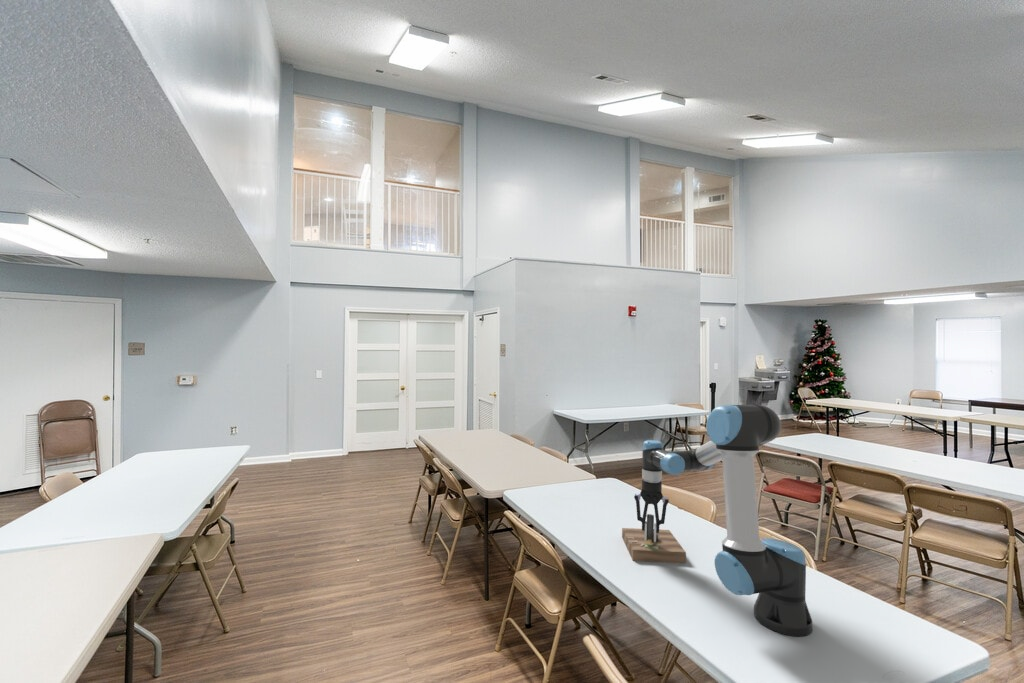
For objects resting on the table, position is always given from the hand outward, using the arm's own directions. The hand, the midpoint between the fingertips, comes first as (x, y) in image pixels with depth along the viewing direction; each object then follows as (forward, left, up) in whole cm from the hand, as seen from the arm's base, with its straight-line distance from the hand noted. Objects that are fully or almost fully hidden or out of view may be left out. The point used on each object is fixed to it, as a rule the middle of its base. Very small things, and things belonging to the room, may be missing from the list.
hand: (650, 539), depth 180 cm
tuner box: (+6, -2, -6) cm, 8 cm away
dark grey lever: (+2, -1, -2) cm, 3 cm away
